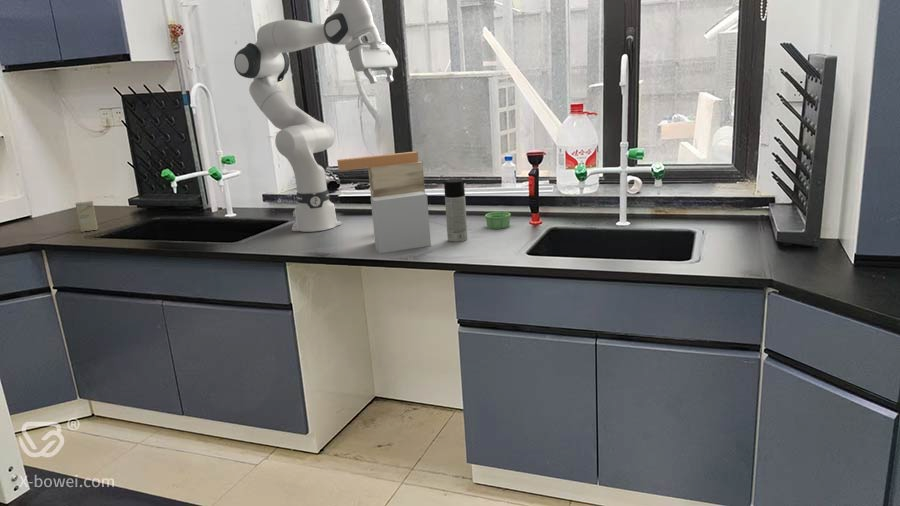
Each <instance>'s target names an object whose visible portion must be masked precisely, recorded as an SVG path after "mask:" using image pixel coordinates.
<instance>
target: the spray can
mask: <svg viewBox="0 0 900 506" xmlns="http://www.w3.org/2000/svg"><path fill="white" fill-rule="evenodd" d="M464 182H465V180H464V179H461V178H451V179H447V180H445V181H444V183H443V185H444V186H443V187H444V189H443V190H444V203H445V217H446V218H445V219H446V220H445V221H446V232H447V234H446V235H447V241H448V242H451V243H459V242H460V243H461V242H465V241H467V240H468V225H467V209H466V207H467V206H466V191H465V190H466V189H465V183H464Z"/></svg>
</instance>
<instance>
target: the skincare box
mask: <svg viewBox="0 0 900 506" xmlns="http://www.w3.org/2000/svg"><path fill="white" fill-rule="evenodd" d="M75 209H76V213H77V217H78V219H77V220H78V224H79V228H80V232H81V231H89V230H97V229H98V230H99V228H98V222H97V218H96V211H95V206H94V201H93V200H89V201H81V202H75ZM98 230H97V231H98Z"/></svg>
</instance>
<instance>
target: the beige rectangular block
mask: <svg viewBox="0 0 900 506" xmlns="http://www.w3.org/2000/svg"><path fill="white" fill-rule="evenodd" d="M423 164H424V163H423V162H422V161H420V160H418V162H415V163H406V164H397V165H388V166H379V167H371V168H367V171H368V179H369V188H370V199H371V198H373V197H381V196H389V195H397V194H405V193H412V192H420V191H422V192H424V193H426V189H425V188H426V187H425V177H424V165H423Z"/></svg>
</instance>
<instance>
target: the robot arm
mask: <svg viewBox="0 0 900 506" xmlns="http://www.w3.org/2000/svg"><path fill="white" fill-rule="evenodd" d="M373 17H374V16H373V13H372V10H371V8H370V6H369V4H368V2H367V0H339V1H338V5H337V7H336V9H335V10H334V11H333V12H332V14H331V15H330V16H328V17H327V18H326V19H325V20H324V23H316V22H309V21H303V20H302V21H301V20H297V19H281V20H279V19H278V20H274V21H271V22H268V23H266V24H263V25H261V27H259V29H258V31H257V32H256V42H255V43H252V42H249V43H247V44H246V45H245V47H243V48H241V49H239V50H238V51H237V52H236V54H235V55H234V63H233V65H234V68H235V70H236V72H237V74H238V75H239V76H240V77H243V78H245V79H253V81H252V82H251V83H250V85H249V89H248V91H249V95H250V96H251V99H252V100H253V102H254V103H255V104H256V106H257V107H258V109H259V110H260V111H261V112H262V113H263V115H264V116H265V117H266V118H267V119H268V121H269V122H270V123H271V124H272V125H273V126H274V127H275V128H277V129H279V131H278V132H277V133H276V135H275V139H274V143H275V147H276V149H277V151H278V152H279V154H281V155H282V156H283V157H285V158H286V160H287V161H288V162H289V164H290V166H291V168H292V171H293V174H294V178H295V179H294V180H295V185H296V191H297V192H296V202H297V206H295V208H294V210H293V211H292V214H293V215H292V216H293V218H294V222H293V225H292V226H291V231H292V232H303V233H306V232H309V233H310V232H321V231H326V230H329V229H330V230H331V229H333V228H335V227H337V226H340V225H342V221H340V220H338V219H337V214H336V209H335V204H334V202H332V201H331V200H330V191H329V189H328V187H327V186H328V185H327V178H326V177H327V176H326V171H325V168H324V167H323V166H322V165H320V164H318V163H317V161H316V159H315V157H314V154H315V153H316V154H317V153H320V152H321V153H322V152H324V151H326V150H327V149H329V148H331V147H332V146H333V145H334V143H335V132H334V130H333V128H332V127H331V126H330V124H328V123H325V122H323V121H319V120H318V119H316V118H315V117H312V115H309V114H308V113H307V112H305V111H304V110H302V109H301V108H300V107H299V106H298V105H297V104H296V103H294V101H293V100H292V99H291V98H290V97H289V96H288V94H287V93H286V92H284V90H283V89H282V88H281V87H280V85H279V84H278V83H280V82H281V81H283V80H284V79H285V76H286V74H287V73H288V71H289V68H290V57H289V55H288V53H295V52H297V51H301V50H304V49H308V48H311V47H315V46H318V45H322V44H328V43H329V44H332V45H336V46H337V45H339V46H341V45H342V46H344V47H345V50H346V51H347V52H348V59H349V61H350V63H351V66H352V68H353V69H354V70H355V71H356V72H363V75H364V76H365V77H366V78H367V80H368V82H369V84H370V85H372V84H376V83H378V80H377V78H376V76H374V75H373V74H372V73H373V72H374V71H385V73H386V77H385V79H386V82H387V83H392V82H394V80H395V79H394V77H393V73H394V72H393V71H394V70H393V69H396V68H397V67H398V61H397V59H396V55H395V54H394V51H393V49H392V48H391V47H390V46H389V45H388V44H387V43H386V42H384V41H383V40H382V39H381V36H380V33H379V32H380V31H379V30H378V28H377V25H376V24H375V22H374V18H373Z"/></svg>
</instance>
